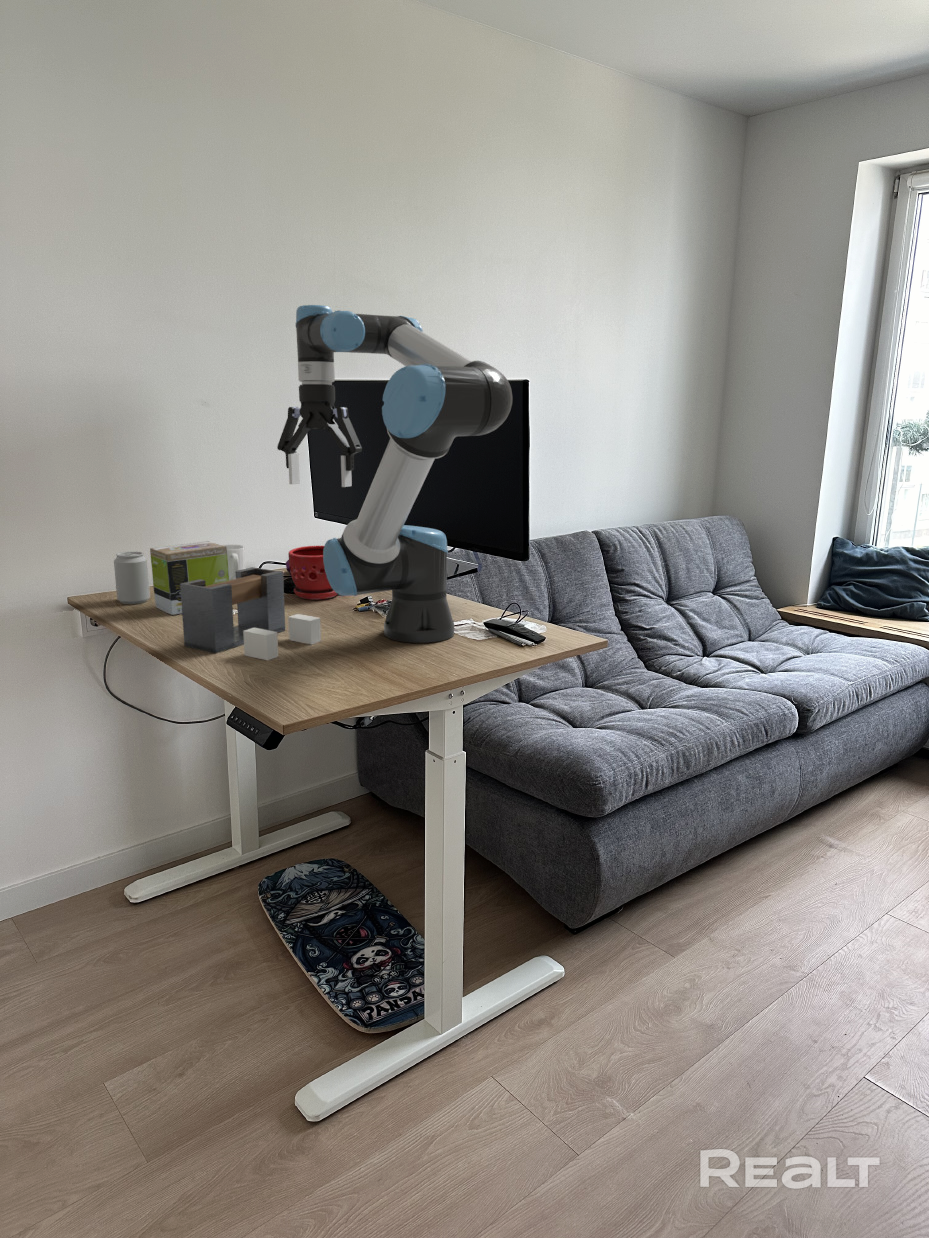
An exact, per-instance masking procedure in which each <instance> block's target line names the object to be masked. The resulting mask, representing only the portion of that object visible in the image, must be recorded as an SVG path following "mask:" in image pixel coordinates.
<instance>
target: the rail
mask: <svg viewBox="0 0 929 1238" xmlns="http://www.w3.org/2000/svg"><path fill="white" fill-rule="evenodd" d="M222 584H231V588H232V606H235V605H237V604H238V603H242V602H245V601H249V600H253V599H256V598H260V597H262V594H261V576H259V575H250V576H246V577H242V578H238V579H234V580H230V581H225V582H221V583H217V584H213V585H209V586H204V587H208V588H209V587H213V586H217V585H222Z"/></svg>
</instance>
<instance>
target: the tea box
mask: <svg viewBox="0 0 929 1238" xmlns="http://www.w3.org/2000/svg"><path fill="white" fill-rule="evenodd" d="M223 545H224V544H219V543H215V542H211V541H208V540H207V541H199V542H192V543H191V542H190V543H184V544H175V545H165V546H157V547H151V548H150V550H149V553H150V555H149V556H150V562H151V563H150V564H151V575H152V584H153V595H154V596H153V597H154V602H155V603H154V605H155V607H156V608H157V610H161V611H162V612H165V613H167V614H169V615H172V616H173V615H174V616H175V615H180V614H181V615H182V603H181V589H180V584H181V583H185V582H190V581H194V580H199V579H201V580H205V583H206V586H209V585H213V584H217V583H221V582H225V581H229V570H228V558H227V547H226V546H223Z"/></svg>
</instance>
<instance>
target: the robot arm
mask: <svg viewBox="0 0 929 1238" xmlns="http://www.w3.org/2000/svg"><path fill="white" fill-rule="evenodd" d="M295 313H296V314H295V315H296V316H295V317H296V319H295V329H296V330H295V331H296V348H297V349H296V350H297V351H296V352H297V368H298V369H297V371H298V374H297V375H298V381H299V382H300V383H301V384H299V386H298V397H299V403H300V407H299V406H289V407H288V409H287V418H286V421H285V422H284V423H285V424H284V426H283V429H282V432H281V435H280V438H279V440H278V441H279V442H278V443H277V448H276V449H277V451H282V452H283V453H284V454H285V465H286V466H285V467H286V469H288V480H289V481H288V482H289V485H298V484H300V481H301V480H300V459H299V455H300V453H297V449H298V448H299V446H300V445H301V443H302V442H303V441H304V439H305V438H306V436H307V434H308V433H309V431H311V430H312V429H314V430H315V429H318V430H326V432H328V433H329V434H330V437H332V439H333V440H334V442H335V443H336V445H337V446H338V448H339V449H340V450H341V452H342V453H343V454H342V455H340V470H341V471H340V473H341V475H340V476H341V488H346V487H347V488H348V487H353V486H352V484H353V483H352V482H353V481H352V480H353V479H352V477H353V475H352V471H355V455H356V454H359V453H361V452H362V451H363V446H362V445H361V443H360V440H359V438H358V436H357V434H356V431H355V429H354V427H353V424H352V422H351V420H350V417H349V416H350V415H349V409H348V407H346V406H343V407H342V406H341V407H337V408H336V407H335V403H336V387H335V385H334V384H333V383H334V382H335V379H336V377H335V354H334V353H351V354H352V353H354V354H355V353H357V354H376V355H377V354H378V355H388V356H389V357H390V358H392V359H394V360H396V361H397V362H399V364H400V365H403V366H402V367H400V368H399V369H397V370H395V372H394V373H393V374H392V375H391V377H390V378H389V380H387V383H386V385H385V389H384V391H383V394H382V402H383V405H382V407H381V415H382V419H383V423H384V426H385V427H386V430H387V431H386V432H387V435H388V436H389V440H388V443H387V446H386V448H385V450H384V453H383V456H382V458H381V460H380V462H379V464H378V465H379V466H378V467H377V470H376V473H375V474H374V478H373V479H372V482H371V484H370V486H369V489H368V492H367V494H366V497H365V498H364V499H365V500H364V501H363V504H362V506H361V509H360V512H359V514H358V517H357V518H356V519H353V520H352V521H350V522H349V523H347V525H346V526H345V527H344V530H343V532H342V535H341V536H340V537H338V538H336V537H333V538H330V539H328V540H326V542H325V543H324V545H323V546H324V551H323V560H324V567H325V572H326V575H327V579H328V581H329V583H330V585H331V587H332V589H333V590H334V591H335V592H336V593H337V595H339V596H341V597H347V596H353V597H356V596H359V595H360V596H361V595H366V594H373V593H374V594H375V593H381V592H388V591H391V597H392V598H391V601H390V604H389V608H388V611H387V613H386V617H385V620H384V623H383V634H384V636H385V637H387V638H388V639H390V640H394V641H397V642H404V643H415V644H416V643H417V644H418V643H420V644H422V643H423V644H425V643H435V642H441V641H446V640H448V639H451V638H452V637H453V636H455V622H454V620H453V615H452V612H451V609H450V606H449V602H448V599H447V592H448V591H447V588H448V587H447V585H448V584H447V582H448V581H447V580H448V575H447V574H448V554H449V551H448V540H447V536H446V533H444V532H443V531H441V530H439V529H436V528H430V527H425V526H424V527H423V526H419V525H418V526H417V525H416V526H415V525H405V523H406V521H407V519H408V516H409V514H410V513H411V510H412V508H413V505H414V503H415V502H416V499H417V498H418V495H419V494H420V491H421V489H422V487H423V485H424V482H425V480H426V478H427V476H428V474H429V472H430V469H431V468H432V466H433V463H434V461H435V459H440V458H442V457H444V456H445V455H447V454H448V452H449V450H450V448H451V446H452V444H453V441H454V439H455V438H457V437H475V436H476V437H477V436H483V435H487V434H489V433H491V432H494V431H495V430H497V429H498V428H499V427H500V426H502V425H503V423H504V422H505V421H506V420H507V418H508V416H509V414H510V412H511V409H512V406H513V392H512V387H511V384H510V382H509V380H508V379H507V377H506V376H505V375H504V374H503V373H502V372H501V371H500V370H498V369H497V368H496V367H494V366H492V365H490V364H488V363H487V362H485V361H482V360H470V359H469V358H467V357H466V356H464V355H462V354H460V353H458V352H457V351H455V350H454V349H453V348H450V347H449V346H447V345H445V344H444V343H442V342H440V341H439V340H437V339H435V338H433V337H432V336H430V335H428V334H427V333H425V332H423V328H422V326H421V324H420V322H419V321H418V320H417V319H416V318H413V317H406V316H404V315H379V314H378V315H377V314H367V313H366V314H364V313H355V312H352V311H350V310H340V309H339V310H334V311H333V310H332V308H331V307H330V306H328V305H321V304H308V305H307V304H305V305H300V306H298V307H297V308H296V312H295ZM300 417H301V420H300V422H299V419H300ZM335 417H336V419H337V420H338V423H339V425H340V428H341V429H340V428H339V425H338V423H337V422H336V421H335ZM298 422H299V423H298ZM297 425H298V426H297ZM296 428H297V429H296ZM341 430H342V431H341Z"/></svg>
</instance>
